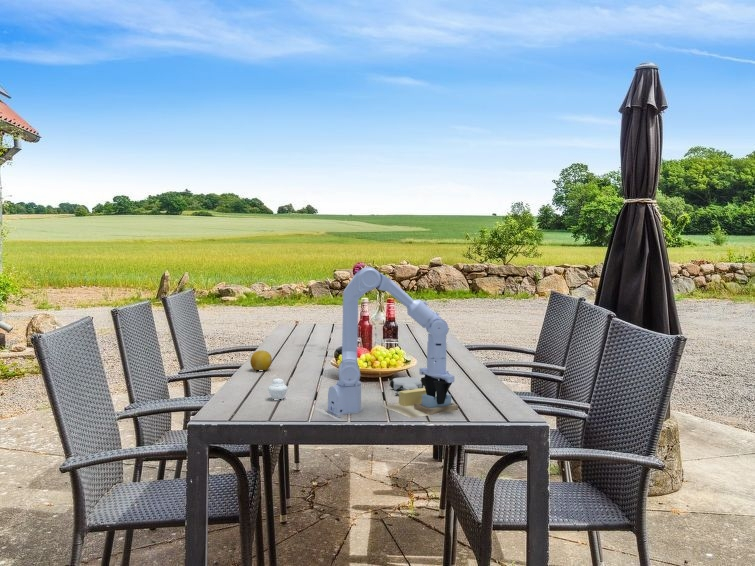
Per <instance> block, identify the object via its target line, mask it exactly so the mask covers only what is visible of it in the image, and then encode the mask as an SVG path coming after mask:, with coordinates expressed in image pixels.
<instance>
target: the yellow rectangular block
mask: <svg viewBox="0 0 755 566" xmlns="http://www.w3.org/2000/svg"><path fill="white" fill-rule="evenodd" d="M425 394H426V390H425V387H423V388H420V389H413V390H405V391H399V395H398V404H400V405H402V406H409V405H414V404H418V403H422V395H425ZM426 395H427V394H426Z"/></svg>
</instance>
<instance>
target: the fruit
mask: <svg viewBox="0 0 755 566" xmlns="http://www.w3.org/2000/svg"><path fill="white" fill-rule="evenodd" d="M272 363H273V360H272V355H271V354H270V352H269V351H266V350H256V351H255V352H253V353H252V355H251V357H250V366H251V368H252V370H254V371H256V370H265V371H267V370H269V369H270V368H271V365H272Z"/></svg>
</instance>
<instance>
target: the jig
mask: <svg viewBox="0 0 755 566" xmlns="http://www.w3.org/2000/svg"><path fill="white" fill-rule="evenodd" d="M381 407H382V408H385V409H387V410H390V411H391V412H395V413H397V414H399V415H402V416H405V417H407V418H410V419H413V418H415V419H416V418H420V417H421V418H422V417H425V416H426V417H427V416H433V415H437V414H438V415H439V414H444V413H449V412H455V411H456V412H457V411H460V409H459V404H456V403H453V402H451V405H448V406H442V407H436V408H427V407H425V406H422V403H418V404H414V405H409V406H402V405H400V404H399V403H396V404H395V403H394V404H389V405H388V404H387V405H381Z"/></svg>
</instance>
